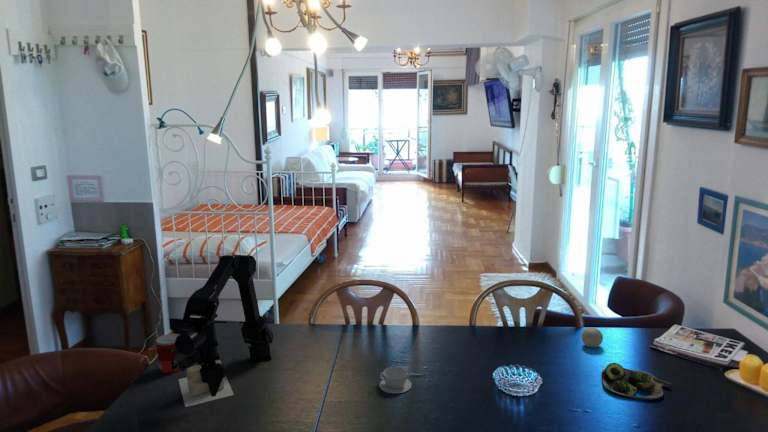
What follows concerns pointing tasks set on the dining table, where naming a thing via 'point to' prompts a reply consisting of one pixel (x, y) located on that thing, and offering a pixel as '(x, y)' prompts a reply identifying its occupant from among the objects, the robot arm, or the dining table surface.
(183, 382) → the white flat tray
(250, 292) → the robot arm
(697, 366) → the dining table surface
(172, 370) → the canned food
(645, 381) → the salad plate
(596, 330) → the baseball
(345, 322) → the dining table surface
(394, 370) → the teacup
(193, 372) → the beech slab
